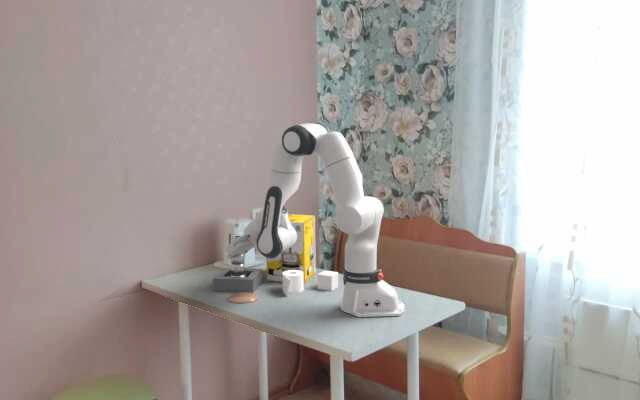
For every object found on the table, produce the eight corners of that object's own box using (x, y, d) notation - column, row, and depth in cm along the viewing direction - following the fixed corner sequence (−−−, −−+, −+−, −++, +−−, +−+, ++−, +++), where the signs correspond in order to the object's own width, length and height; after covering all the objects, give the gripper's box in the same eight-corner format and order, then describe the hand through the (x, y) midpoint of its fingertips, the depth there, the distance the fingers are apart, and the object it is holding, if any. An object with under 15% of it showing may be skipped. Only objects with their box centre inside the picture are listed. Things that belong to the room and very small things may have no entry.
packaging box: (315, 272, 246) (315, 215, 242) (304, 283, 230) (303, 222, 226) (280, 269, 250) (279, 213, 246) (266, 280, 234) (265, 220, 231)
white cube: (317, 289, 223) (317, 274, 222) (324, 284, 228) (324, 270, 227) (331, 291, 220) (331, 276, 219) (338, 286, 225) (338, 272, 224)
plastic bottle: (231, 288, 224) (229, 239, 221) (229, 283, 230) (227, 235, 227) (247, 287, 225) (246, 238, 222) (245, 282, 232) (243, 234, 229)
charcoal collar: (262, 280, 234) (262, 268, 233) (253, 292, 219) (253, 279, 219) (224, 279, 236) (224, 267, 235) (213, 290, 221) (212, 278, 221)
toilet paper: (286, 296, 214) (286, 279, 213) (280, 288, 225) (280, 270, 223) (307, 294, 216) (307, 277, 215) (300, 286, 227) (300, 269, 226)
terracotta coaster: (261, 294, 217) (261, 292, 217) (254, 303, 206) (254, 302, 206) (233, 293, 218) (233, 291, 218) (224, 302, 208) (224, 301, 208)
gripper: (244, 245, 210) (224, 267, 216) (275, 234, 228) (255, 255, 234) (234, 232, 212) (214, 254, 218) (265, 222, 229) (246, 243, 235)
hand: (236, 254), depth 226 cm, fingers open, 8 cm apart
